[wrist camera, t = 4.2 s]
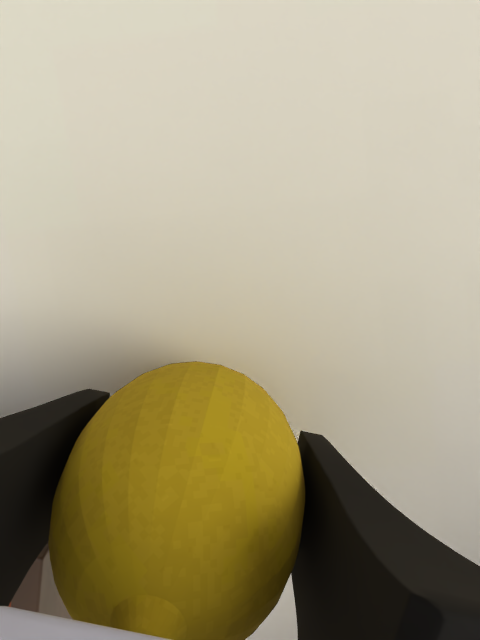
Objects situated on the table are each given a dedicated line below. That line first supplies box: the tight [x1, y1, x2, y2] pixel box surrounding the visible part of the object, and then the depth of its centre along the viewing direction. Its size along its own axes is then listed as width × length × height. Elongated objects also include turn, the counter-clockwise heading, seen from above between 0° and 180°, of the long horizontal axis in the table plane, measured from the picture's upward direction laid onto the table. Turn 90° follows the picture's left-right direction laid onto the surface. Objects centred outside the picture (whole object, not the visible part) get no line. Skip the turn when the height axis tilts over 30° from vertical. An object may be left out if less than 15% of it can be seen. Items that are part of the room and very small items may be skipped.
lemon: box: [48, 361, 305, 640], centre depth 10 cm, size 6×6×8 cm
